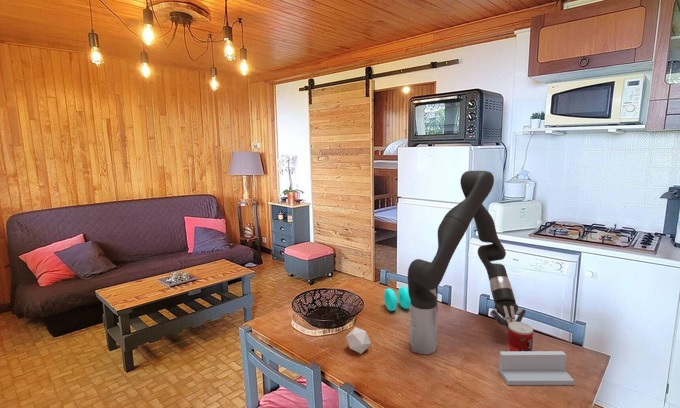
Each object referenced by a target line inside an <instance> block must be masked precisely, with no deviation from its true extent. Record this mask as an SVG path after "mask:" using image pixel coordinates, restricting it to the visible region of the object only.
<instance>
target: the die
mask: <svg viewBox="0 0 680 408" xmlns="http://www.w3.org/2000/svg"><path fill="white" fill-rule="evenodd" d="M345 339H346V341H347V344H348V347H349V349H350V350H353V351H354V352H356V353H358V354H360V355H361V354H363V353H364V352H365V351H366V350H367V349H368V348H369V346H370V345H371V344H372V343H371V340H370V337H369V335H368V333H367V331H366V330H364V329H362V328H359V327H357V326H355V327H353V329H352V330H351V331H350V332H349V333H348V334H347V335H346V336H345Z"/></svg>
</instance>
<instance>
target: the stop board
mask: <svg viewBox="0 0 680 408" xmlns="http://www.w3.org/2000/svg"><path fill="white" fill-rule="evenodd" d="M498 355H499V360H498V362H499V363H498V372H499V374H500V376H501V377H502V378H503V381H504V382H505V383H506V385H507V386H575V379H574V378H572V376H571V375H570V374H569V373H568V372H567V371H566V363H567V354H566V353H565V352H564V351H563V350H558V351H557V350H548V351H547V350H543V351H540V350H539V351H538V350H537V351H536V350H535V351H534V350H532V351H507V350H506V351H499V354H498Z"/></svg>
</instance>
